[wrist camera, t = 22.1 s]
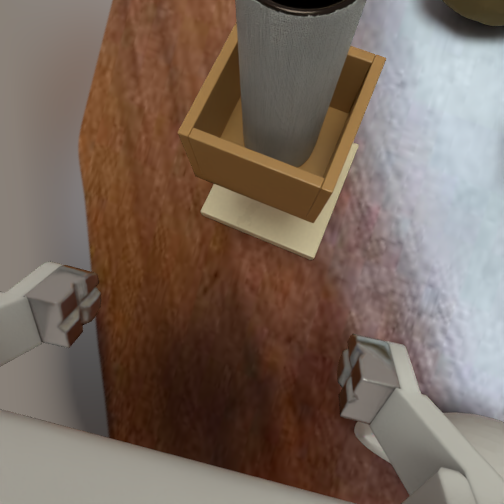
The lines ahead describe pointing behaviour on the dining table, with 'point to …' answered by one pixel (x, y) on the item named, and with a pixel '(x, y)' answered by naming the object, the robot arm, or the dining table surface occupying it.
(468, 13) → the decorative stone
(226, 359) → the dining table surface
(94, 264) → the dining table surface
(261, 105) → the grey tumbler
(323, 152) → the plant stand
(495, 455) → the decorative item
